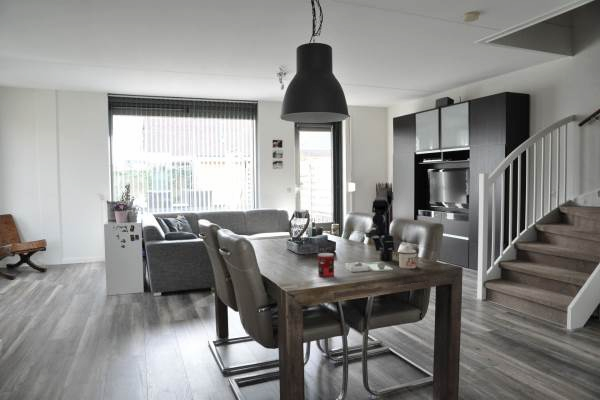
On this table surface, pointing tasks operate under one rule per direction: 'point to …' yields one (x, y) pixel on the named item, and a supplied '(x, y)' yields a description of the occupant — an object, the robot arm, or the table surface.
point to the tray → (375, 267)
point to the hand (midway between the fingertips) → (381, 252)
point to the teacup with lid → (407, 258)
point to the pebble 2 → (381, 265)
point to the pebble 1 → (358, 264)
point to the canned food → (326, 265)
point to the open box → (352, 267)
